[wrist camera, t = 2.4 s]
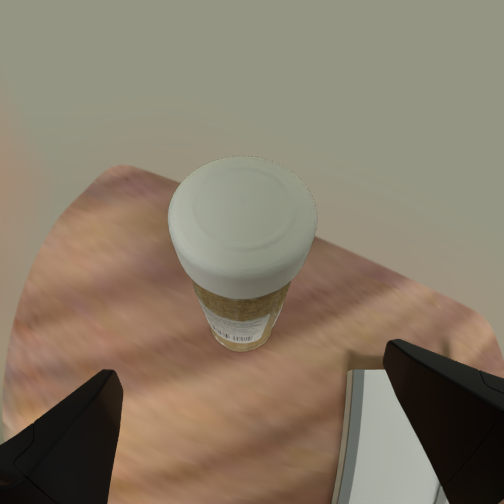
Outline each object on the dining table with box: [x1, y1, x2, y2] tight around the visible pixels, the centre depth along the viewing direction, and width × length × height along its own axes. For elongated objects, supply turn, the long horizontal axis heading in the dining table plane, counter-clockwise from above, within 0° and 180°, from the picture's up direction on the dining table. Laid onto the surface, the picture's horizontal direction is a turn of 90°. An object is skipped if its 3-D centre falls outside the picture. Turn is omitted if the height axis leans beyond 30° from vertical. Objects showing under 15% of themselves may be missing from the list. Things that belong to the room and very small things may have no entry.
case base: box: [331, 369, 449, 504], centre depth 14 cm, size 14×10×2 cm
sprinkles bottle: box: [168, 156, 317, 352], centre depth 14 cm, size 5×5×13 cm
